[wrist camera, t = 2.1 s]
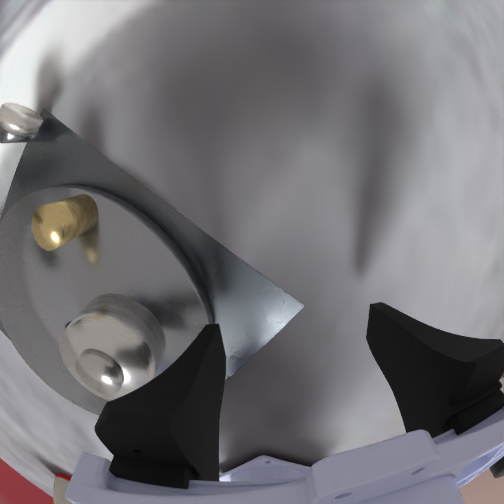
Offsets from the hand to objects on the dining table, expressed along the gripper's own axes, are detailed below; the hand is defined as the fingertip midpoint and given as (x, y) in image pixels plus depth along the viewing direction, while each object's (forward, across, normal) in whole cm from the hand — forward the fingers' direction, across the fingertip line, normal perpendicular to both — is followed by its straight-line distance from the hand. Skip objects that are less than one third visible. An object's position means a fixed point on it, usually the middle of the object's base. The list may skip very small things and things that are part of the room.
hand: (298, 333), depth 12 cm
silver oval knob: (+3, +13, -12) cm, 18 cm away
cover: (+1, +9, 0) cm, 9 cm away
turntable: (+3, +13, 0) cm, 13 cm away
